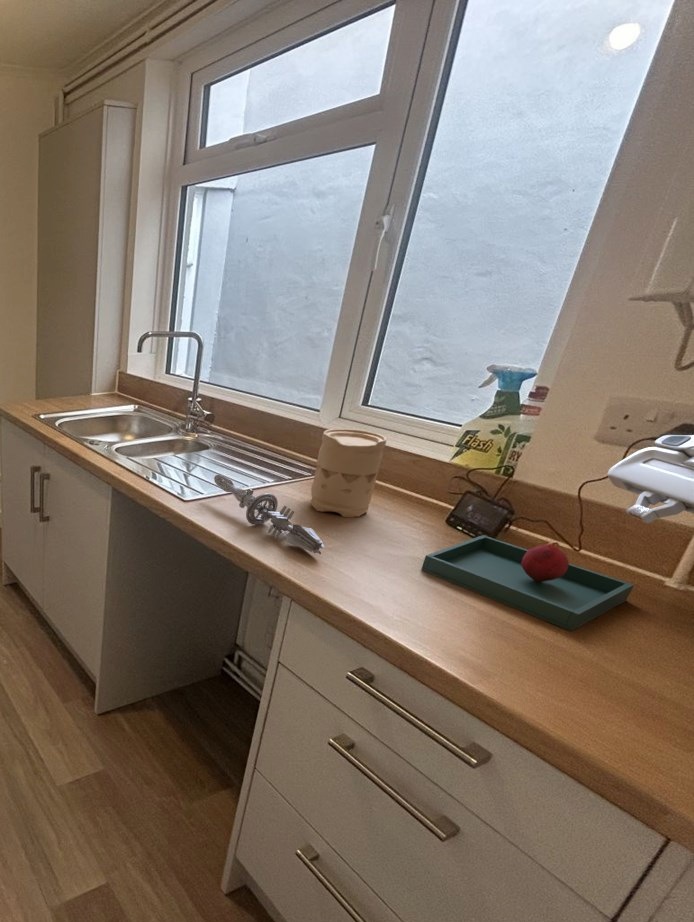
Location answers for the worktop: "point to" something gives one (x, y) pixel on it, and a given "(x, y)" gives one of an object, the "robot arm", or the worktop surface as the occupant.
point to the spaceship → (272, 516)
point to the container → (346, 471)
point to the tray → (527, 582)
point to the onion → (545, 562)
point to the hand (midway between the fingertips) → (635, 517)
